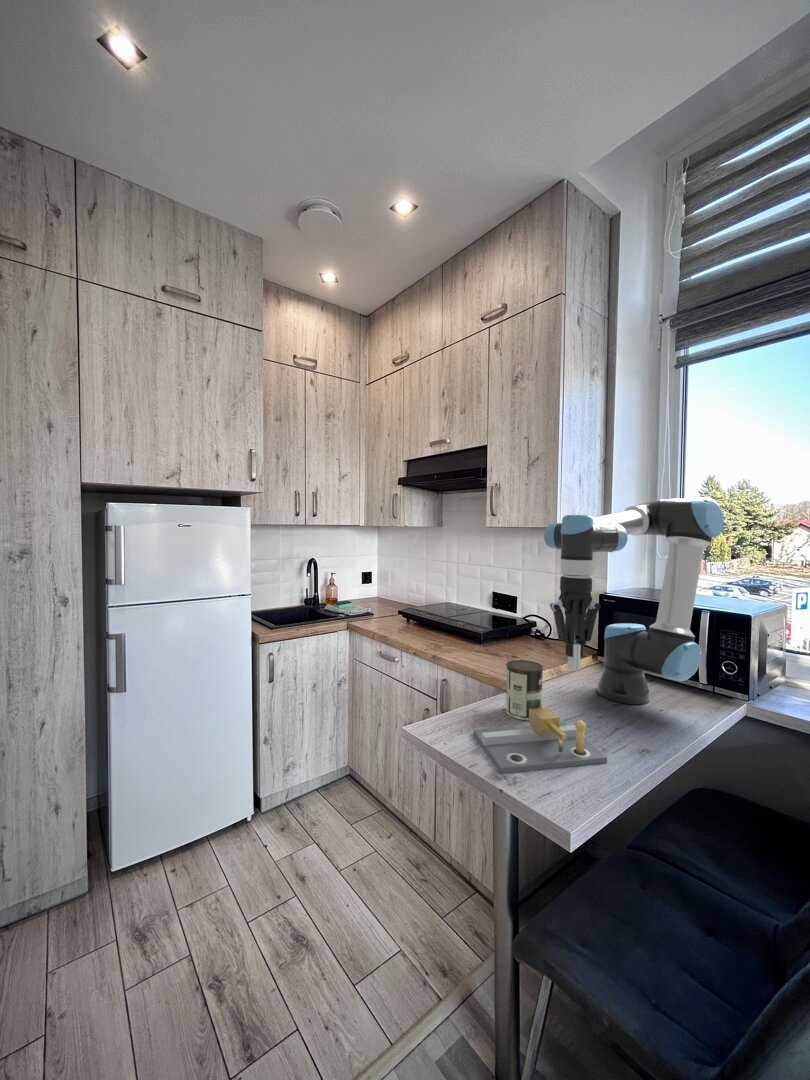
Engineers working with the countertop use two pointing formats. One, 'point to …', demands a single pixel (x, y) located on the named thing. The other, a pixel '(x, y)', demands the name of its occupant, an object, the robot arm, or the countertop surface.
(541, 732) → the pointer
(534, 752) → the gauge board
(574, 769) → the countertop surface
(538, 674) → the coffee can
